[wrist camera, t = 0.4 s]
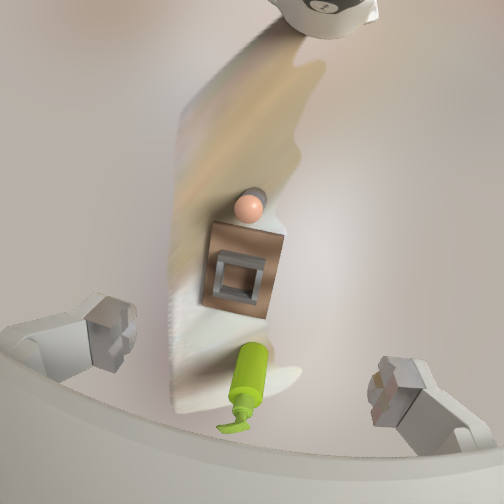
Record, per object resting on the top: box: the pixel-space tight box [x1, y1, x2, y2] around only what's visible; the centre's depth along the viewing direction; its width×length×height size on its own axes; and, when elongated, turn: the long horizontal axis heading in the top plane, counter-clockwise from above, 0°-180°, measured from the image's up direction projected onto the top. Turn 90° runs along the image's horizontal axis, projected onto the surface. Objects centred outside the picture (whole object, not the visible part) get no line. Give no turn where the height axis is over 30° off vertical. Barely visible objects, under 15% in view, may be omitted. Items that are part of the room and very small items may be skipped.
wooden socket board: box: [202, 221, 284, 319], centre depth 55 cm, size 16×12×4 cm
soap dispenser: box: [216, 342, 268, 434], centre depth 54 cm, size 6×7×20 cm
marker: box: [234, 187, 267, 223], centre depth 48 cm, size 4×4×8 cm
